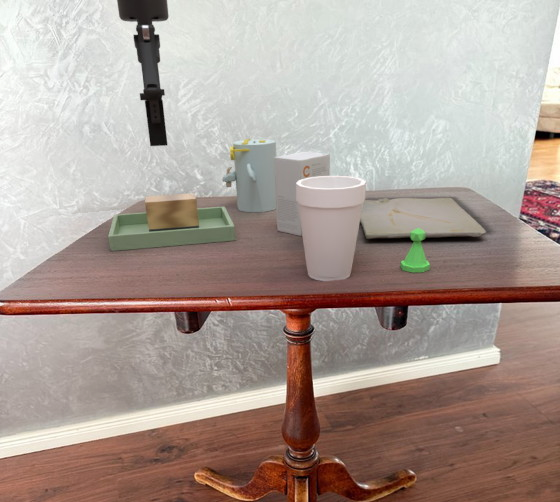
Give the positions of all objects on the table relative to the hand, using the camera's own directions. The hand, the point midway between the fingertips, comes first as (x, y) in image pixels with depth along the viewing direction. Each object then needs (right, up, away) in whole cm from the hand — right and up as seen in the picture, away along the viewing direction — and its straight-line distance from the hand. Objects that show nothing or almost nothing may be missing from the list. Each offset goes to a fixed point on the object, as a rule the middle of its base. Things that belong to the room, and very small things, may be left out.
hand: (158, 141), depth 93 cm
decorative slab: (+46, -11, +10) cm, 49 cm away
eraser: (+1, -13, +8) cm, 16 cm away
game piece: (+41, -24, -12) cm, 49 cm away
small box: (+25, -13, +9) cm, 30 cm away
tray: (+1, -14, +8) cm, 16 cm away
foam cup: (+28, -25, -13) cm, 40 cm away
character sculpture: (+15, -4, +25) cm, 29 cm away
